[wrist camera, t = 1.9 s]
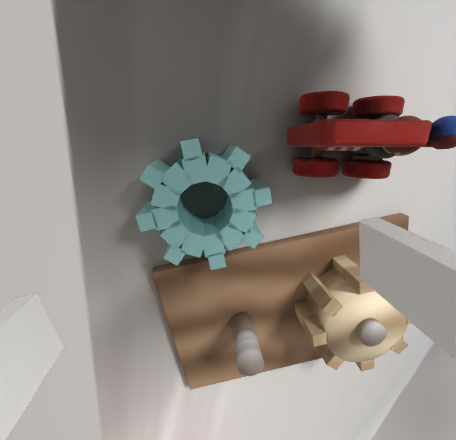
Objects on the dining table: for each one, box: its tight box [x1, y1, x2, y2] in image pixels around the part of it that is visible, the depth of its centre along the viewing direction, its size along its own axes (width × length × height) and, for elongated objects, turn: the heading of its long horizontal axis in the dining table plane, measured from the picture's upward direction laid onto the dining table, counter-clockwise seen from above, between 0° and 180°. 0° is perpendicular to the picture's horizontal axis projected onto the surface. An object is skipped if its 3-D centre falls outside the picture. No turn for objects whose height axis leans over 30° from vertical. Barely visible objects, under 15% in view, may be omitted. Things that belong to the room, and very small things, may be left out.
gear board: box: [152, 213, 412, 390], centre depth 27 cm, size 17×28×7 cm, turn 101°
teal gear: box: [135, 138, 272, 270], centre depth 23 cm, size 11×11×5 cm
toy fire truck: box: [287, 91, 456, 179], centre depth 20 cm, size 7×12×10 cm, turn 88°
